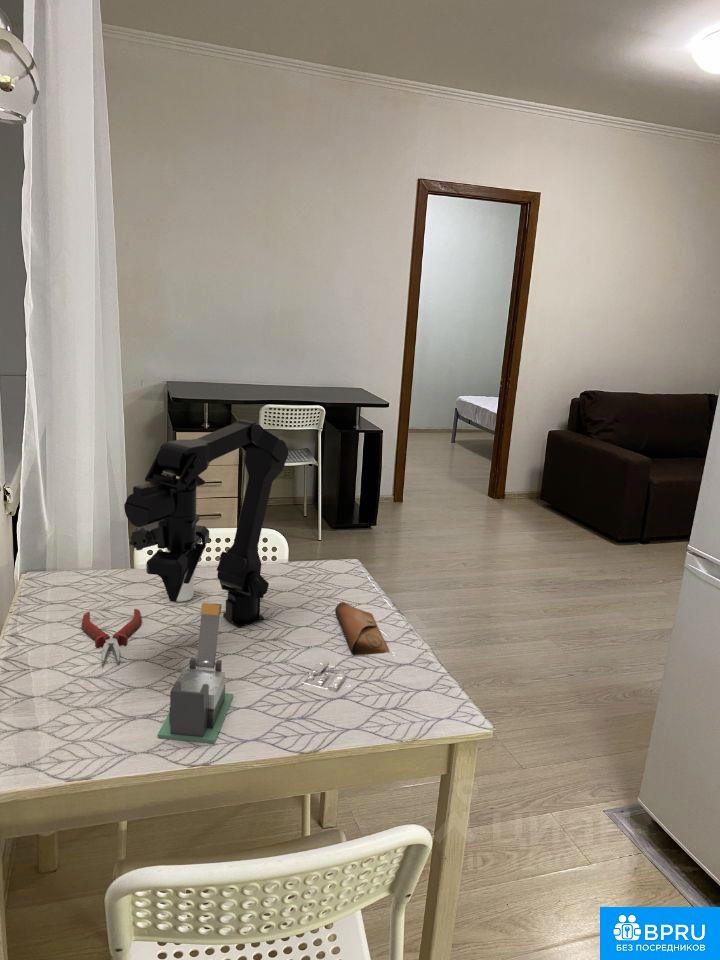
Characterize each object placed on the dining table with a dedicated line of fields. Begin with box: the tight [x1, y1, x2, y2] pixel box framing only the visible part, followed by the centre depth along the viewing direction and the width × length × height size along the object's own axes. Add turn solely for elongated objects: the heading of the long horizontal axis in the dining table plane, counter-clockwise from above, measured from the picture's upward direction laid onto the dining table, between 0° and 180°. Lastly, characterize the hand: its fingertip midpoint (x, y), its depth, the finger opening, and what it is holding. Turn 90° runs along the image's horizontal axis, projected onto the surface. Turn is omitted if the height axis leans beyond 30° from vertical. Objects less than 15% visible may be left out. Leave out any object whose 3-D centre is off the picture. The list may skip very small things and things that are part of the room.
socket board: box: [156, 657, 234, 744], centre depth 116 cm, size 13×9×8 cm
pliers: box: [81, 608, 142, 666], centre depth 138 cm, size 12×20×3 cm, turn 18°
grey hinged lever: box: [196, 602, 223, 669], centre depth 120 cm, size 2×3×11 cm, turn 87°
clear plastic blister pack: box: [300, 661, 347, 693], centre depth 132 cm, size 8×7×2 cm
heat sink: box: [168, 667, 226, 729], centre depth 117 cm, size 8×7×6 cm
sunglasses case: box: [335, 601, 390, 656], centre depth 149 cm, size 18×7×7 cm
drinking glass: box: [164, 548, 196, 603], centre depth 157 cm, size 7×7×15 cm
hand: (179, 591), depth 132 cm, fingers open, 8 cm apart
